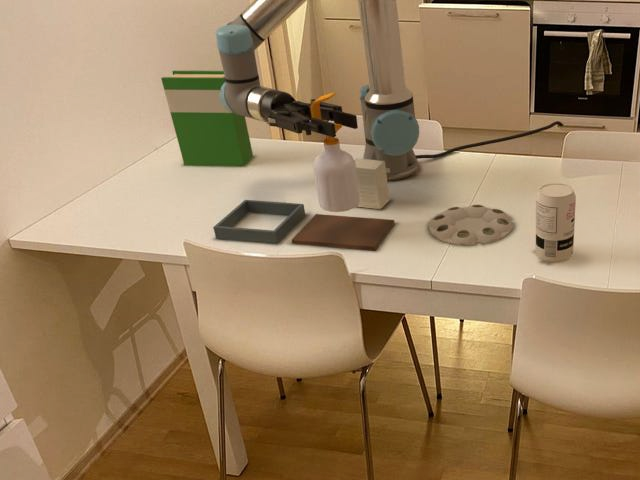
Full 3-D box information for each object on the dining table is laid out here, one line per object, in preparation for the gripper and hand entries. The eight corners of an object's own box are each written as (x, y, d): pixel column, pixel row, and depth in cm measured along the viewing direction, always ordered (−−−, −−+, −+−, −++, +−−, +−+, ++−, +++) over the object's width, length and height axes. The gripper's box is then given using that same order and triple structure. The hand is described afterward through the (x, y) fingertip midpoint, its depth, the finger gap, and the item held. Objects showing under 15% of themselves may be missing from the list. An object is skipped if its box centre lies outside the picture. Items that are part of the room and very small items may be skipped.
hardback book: (184, 165, 214) (161, 78, 200) (195, 155, 220) (173, 70, 206) (243, 166, 212) (224, 78, 198) (253, 156, 218) (235, 70, 204)
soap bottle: (351, 214, 167) (338, 101, 153) (313, 211, 168) (296, 99, 154) (365, 198, 174) (353, 89, 160) (327, 195, 176) (312, 87, 161)
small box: (390, 200, 190) (385, 160, 184) (380, 210, 185) (375, 169, 179) (361, 197, 192) (356, 157, 186) (351, 206, 188) (345, 165, 181)
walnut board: (394, 223, 179) (394, 219, 178) (375, 250, 168) (374, 246, 167) (316, 217, 183) (315, 213, 182) (292, 243, 172) (291, 239, 171)
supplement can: (532, 247, 167) (533, 183, 158) (569, 245, 167) (572, 181, 159) (537, 265, 160) (539, 199, 152) (576, 262, 161) (579, 196, 152)
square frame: (305, 215, 184) (303, 203, 182) (277, 244, 172) (275, 232, 170) (247, 210, 187) (245, 199, 186) (216, 238, 175) (212, 227, 173)
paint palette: (456, 253, 166) (456, 245, 165) (414, 222, 179) (413, 214, 178) (529, 230, 174) (529, 222, 173) (483, 201, 188) (483, 194, 186)
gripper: (307, 112, 177) (378, 131, 165) (243, 135, 166) (314, 156, 154) (302, 80, 173) (374, 96, 161) (235, 100, 161) (308, 120, 149)
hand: (344, 126), depth 157 cm, fingers closed on soap bottle, 6 cm apart
